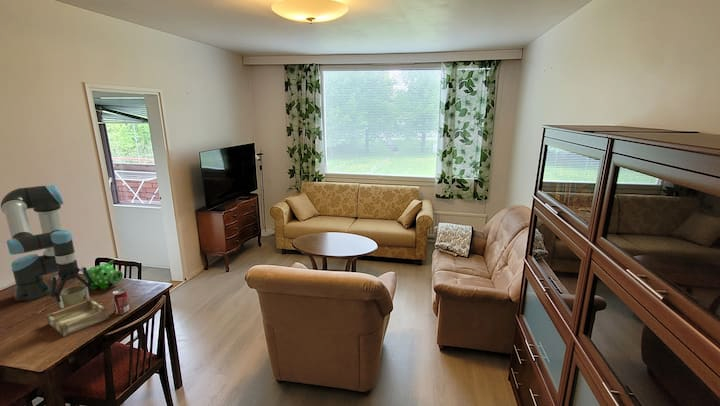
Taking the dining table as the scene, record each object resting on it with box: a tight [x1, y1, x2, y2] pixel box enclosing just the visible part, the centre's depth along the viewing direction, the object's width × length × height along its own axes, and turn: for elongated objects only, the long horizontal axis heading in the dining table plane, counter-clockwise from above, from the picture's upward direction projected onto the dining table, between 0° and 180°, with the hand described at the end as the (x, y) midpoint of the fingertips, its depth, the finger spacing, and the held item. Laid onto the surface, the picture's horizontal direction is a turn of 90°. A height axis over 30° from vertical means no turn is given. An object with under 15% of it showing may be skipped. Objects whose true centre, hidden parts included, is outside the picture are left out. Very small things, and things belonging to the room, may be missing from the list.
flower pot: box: [60, 285, 86, 306], centre depth 172 cm, size 10×10×7 cm
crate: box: [46, 297, 110, 338], centre depth 175 cm, size 19×19×5 cm
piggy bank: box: [83, 259, 124, 290], centre depth 210 cm, size 14×18×15 cm
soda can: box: [111, 288, 130, 315], centre depth 183 cm, size 7×7×12 cm
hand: (75, 302), depth 173 cm, fingers closed on flower pot, 10 cm apart
